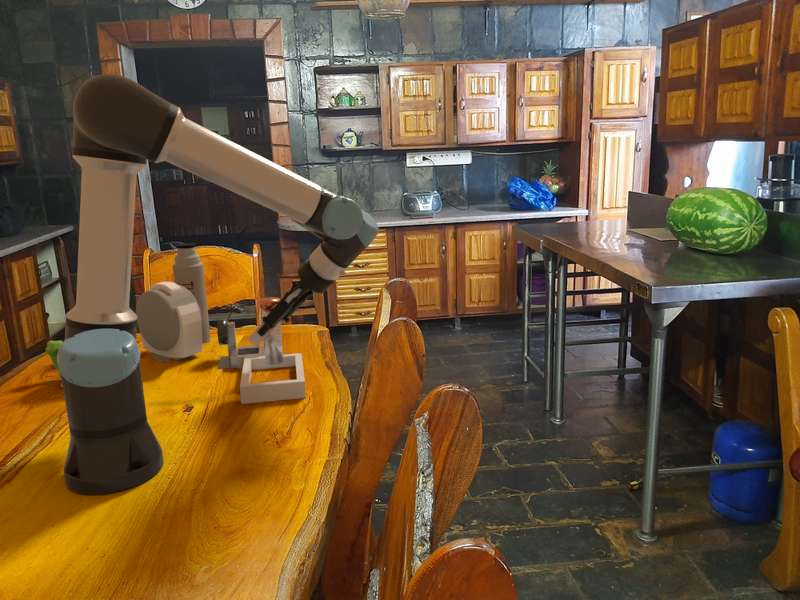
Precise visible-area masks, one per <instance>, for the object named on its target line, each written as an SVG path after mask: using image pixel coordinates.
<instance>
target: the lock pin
mask: <svg viewBox="0 0 800 600" xmlns="http://www.w3.org/2000/svg"><path fill="white" fill-rule="evenodd" d="M280 301H281V298H280V297H276V296H275V297H273V296H271V297H270V296H269V297H263V298H260V299H259V300H258V304H259V305H258V306H259V309H260V313H261V324H262V323H263V319H262V317H264V316H265V317H266V316H267V315H268V314H269V313H270V312H271V311H272V310H273V308H274V307H275V306H276V305H277V304H278V303H279V302H280ZM263 346H264V350H265V363H266V364H268V365H276V364H280V363H282V362H283V355H284V352H283V337H282V325H281V322H279V323H278V324H277V325H276V326H275V328H274V329H273V331H272V332H271V333H270V334H269V335H268V336H267V337H266V338H265V339H264V340H263Z"/></svg>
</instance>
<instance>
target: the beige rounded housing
mask: <svg viewBox="0 0 800 600" xmlns="http://www.w3.org/2000/svg"><path fill="white" fill-rule="evenodd" d="M135 314H136V315H137V327H138V330H139V334H140V339H141V342H142V343H141V344H142V346H143V349H145V350H147V351H149V352H150V353H151V358H152V359H153V360H158V361H161V362H165V363H170V361H171V360H175V361H181V360H184V359H186V358H189V357H192V356H195V355H197V354H199V353H202V352H203V344H202V316H201V311H200V308H199V305H198V302H197V301H196V299H195V297H194V296H193V294H192V293H191V292H190V291H189V290H188V289H186V288H185V287H183V286H180V285H177V284H176V283H175V282H172V281H161V282H158V283H154V284H151V285H150V287H149V289H148V290H146V291H144V292H142V293H141V294H140V295H139V297H138V299H137V302H136V307H135Z"/></svg>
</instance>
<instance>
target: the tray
mask: <svg viewBox="0 0 800 600" xmlns="http://www.w3.org/2000/svg"><path fill="white" fill-rule="evenodd" d="M302 355H303V354H302V352H300V353H288V354H287V353H286V354H283V362H282V363H280V364H276V365H268V364H266V363H265V356H260V357H254V358H244V364H243V369H241V370H242V371H241V377H240V385H239V393H240V394H239V395H240V403H241V405H244V404H245V405H246V404H256V403H264V402H265V403H266V402H276V401H287V400H288V401H289V400H296V399H297V400H298V399H305V398H307V394H306V393H307V392H306V380H305V373H304V372H305V371H304V364H303V356H302ZM289 367H295V371H296V372H295V373H296V379H286V380H284V379H283V380H274V381H264V382H254V383H253V382H252V383H251V380H252V371H255V370H266V369H267V370H268V369H278V368H289Z"/></svg>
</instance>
